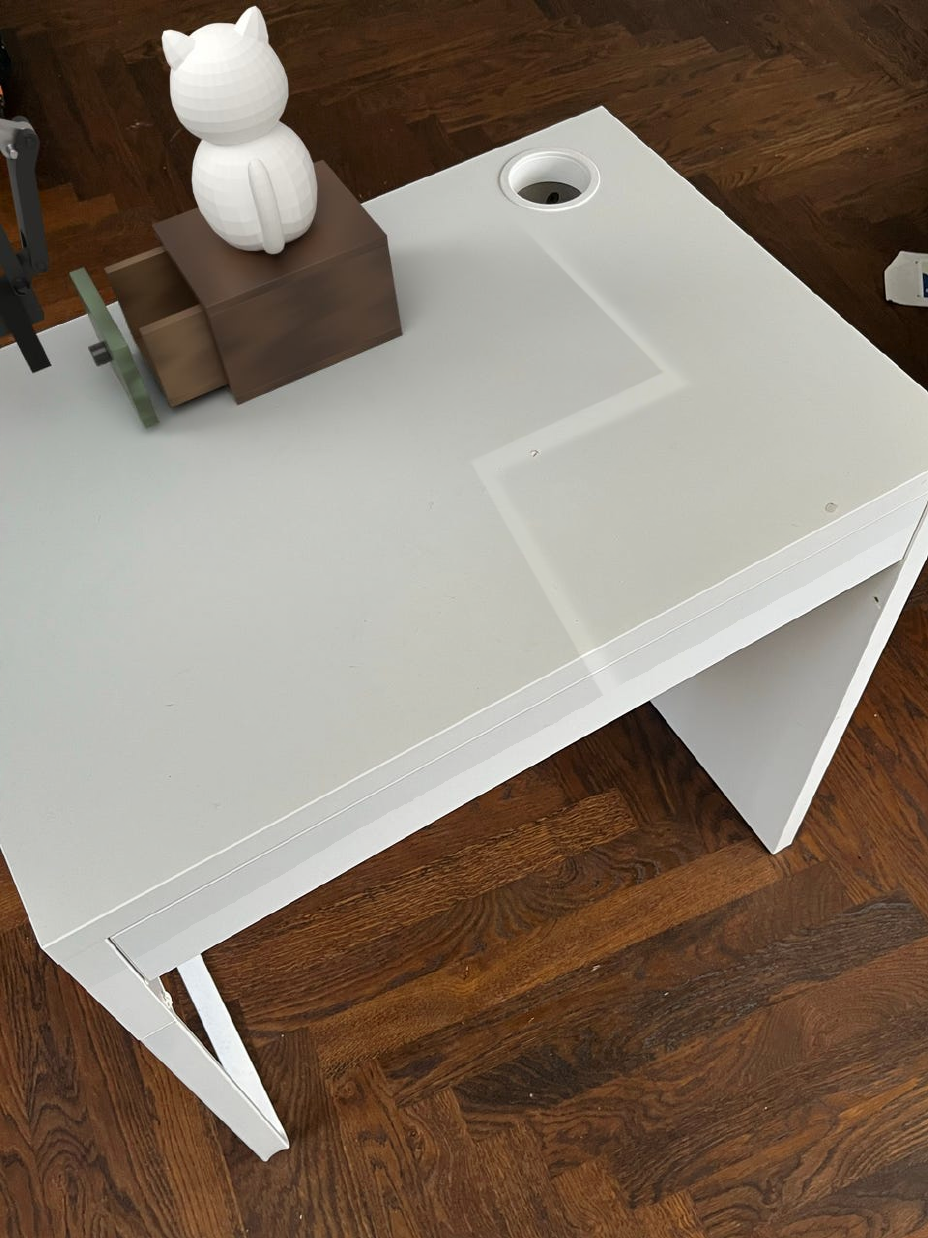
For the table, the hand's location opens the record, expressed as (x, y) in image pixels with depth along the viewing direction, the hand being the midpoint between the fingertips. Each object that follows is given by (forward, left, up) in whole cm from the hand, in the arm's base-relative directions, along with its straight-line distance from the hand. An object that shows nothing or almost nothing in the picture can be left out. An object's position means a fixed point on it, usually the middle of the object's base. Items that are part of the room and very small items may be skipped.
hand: (37, 358), depth 85 cm
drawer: (+9, +6, -6) cm, 12 cm away
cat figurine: (+16, +10, +3) cm, 20 cm away
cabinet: (+16, +11, -7) cm, 20 cm away
